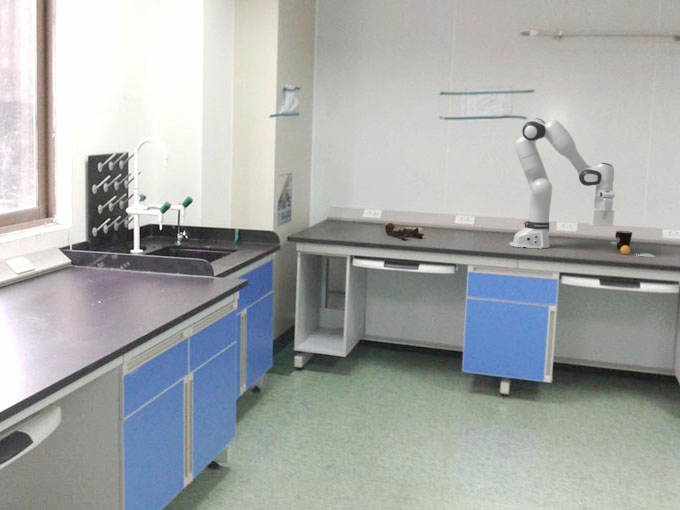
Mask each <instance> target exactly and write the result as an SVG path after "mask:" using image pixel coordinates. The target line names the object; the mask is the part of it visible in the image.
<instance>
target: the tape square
mask: <svg viewBox="0 0 680 510" xmlns="http://www.w3.org/2000/svg"><path fill="white" fill-rule="evenodd" d="M639 253H640V255H639V254H638V256H637V255H636V257H639V256H644V257H645V258H656V256H655V255H653V254H651V253H643V252H639ZM641 253H642V254H641ZM644 257H643V258H644Z"/></svg>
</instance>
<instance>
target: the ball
mask: <svg viewBox="0 0 680 510" xmlns="http://www.w3.org/2000/svg"><path fill="white" fill-rule="evenodd" d="M620 252H621V254H622V255H624V254H626V255H629V254H630V253H631V248H630V246H629V247H628V246H626V245H624V246H622V247H621V249H620Z"/></svg>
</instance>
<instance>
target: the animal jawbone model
mask: <svg viewBox="0 0 680 510" xmlns="http://www.w3.org/2000/svg"><path fill="white" fill-rule="evenodd" d="M413 228H414V227H411V226H407V227H404V228H403V229H401V228H400V227H396V226H395V223H394V221H389V222H386V221H385V222H384V229H385V234H386V235H387V236H389V237H393V238H395V239H396V238H397V239H401V240H402V242H403V241H405V238H407V239H408V238H418V239H423V236H424V235H425V234H424V233H422V232H419V229H420V228H419V227H418V226H417V227H415V228H414V229H413Z"/></svg>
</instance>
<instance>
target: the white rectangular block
mask: <svg viewBox="0 0 680 510" xmlns="http://www.w3.org/2000/svg"><path fill="white" fill-rule="evenodd" d="M602 216H603V211H602V210H600V209H597V208H590V210H589V221H588V224H589V225H590V226H592V227H593V226H594V227H614V216H615V210H614V209H612V210H611V212H608V213H607V216H606V219H602Z"/></svg>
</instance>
